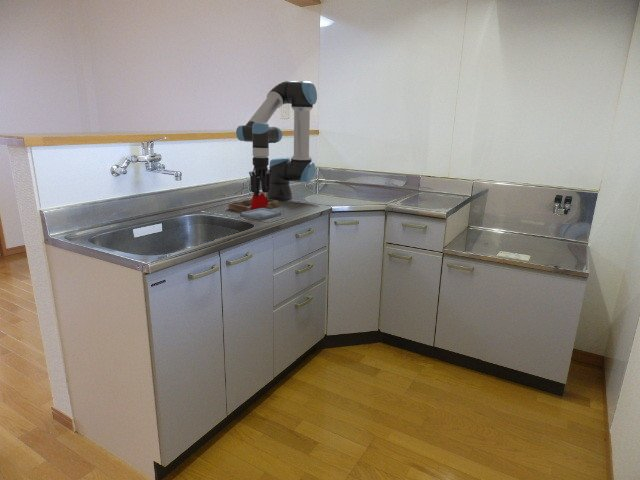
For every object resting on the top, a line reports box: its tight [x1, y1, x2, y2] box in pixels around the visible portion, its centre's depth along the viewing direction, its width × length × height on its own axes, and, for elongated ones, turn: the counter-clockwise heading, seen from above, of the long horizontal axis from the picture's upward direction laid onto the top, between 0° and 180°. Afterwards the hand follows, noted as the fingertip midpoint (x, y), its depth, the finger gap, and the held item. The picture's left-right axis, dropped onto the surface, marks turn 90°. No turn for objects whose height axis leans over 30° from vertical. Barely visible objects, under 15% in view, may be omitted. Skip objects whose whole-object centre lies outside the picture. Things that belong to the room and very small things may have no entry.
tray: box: [239, 208, 282, 221], centre depth 204 cm, size 15×13×2 cm
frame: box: [228, 198, 280, 213], centre depth 219 cm, size 23×14×3 cm, turn 145°
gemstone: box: [250, 191, 268, 210], centre depth 200 cm, size 9×9×10 cm
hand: (260, 205), depth 203 cm, fingers closed on gemstone, 3 cm apart
